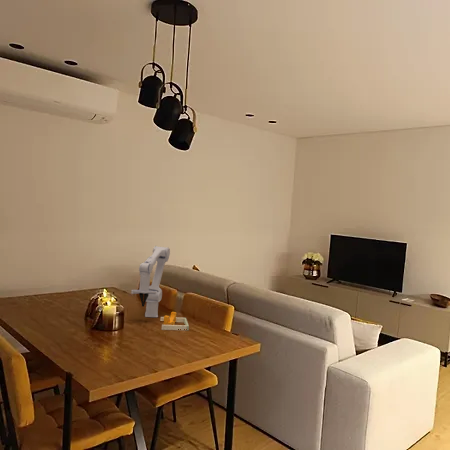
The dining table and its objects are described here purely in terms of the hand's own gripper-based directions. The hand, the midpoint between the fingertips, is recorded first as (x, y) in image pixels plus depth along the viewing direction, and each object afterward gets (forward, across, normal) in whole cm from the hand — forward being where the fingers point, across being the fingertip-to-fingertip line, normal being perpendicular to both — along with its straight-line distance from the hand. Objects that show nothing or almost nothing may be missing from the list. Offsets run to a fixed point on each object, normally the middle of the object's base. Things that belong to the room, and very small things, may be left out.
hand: (142, 306), depth 253 cm
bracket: (+9, +18, -6) cm, 21 cm away
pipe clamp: (+10, +17, -5) cm, 20 cm away
